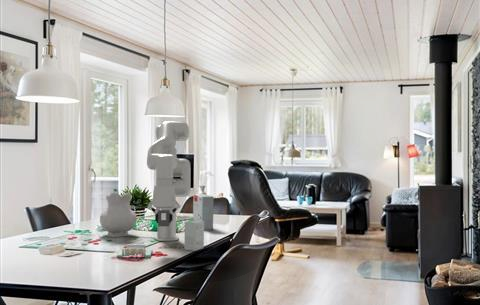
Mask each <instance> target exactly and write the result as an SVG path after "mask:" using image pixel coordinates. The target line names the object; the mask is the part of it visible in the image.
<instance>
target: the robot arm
mask: <svg viewBox="0 0 480 305" xmlns="http://www.w3.org/2000/svg"><path fill="white" fill-rule="evenodd" d="M189 137H190V126H189V124H188V123H187V122H185V121H176V120H175V121H174V120H172V121H171V120H167V121H163V122H162V123H161V124H159V125H158V126H156V127H155V138H156V141H154V142H153V143H152V144H151V145H150V146H149V148H148V150H147V157H146V165H147V168H148V169H149V170H152V171H155V185H154V187H153V192H152V200H151V201H150V202H149V203H148V205H147V208H148V209H149V210H151V211H152V212H153V213H154V215H155V216H154V220H155V222H156V224H158V210H159V209H161V210H170V214H169V223H170V224H169V226H158V225H157V226H156V227H157V234H156V236H153V239H154V240H155V241H159V242H175V241H177V240H179V239H180V237H179V236H177V234H176V233H177V210H179V209H180V208H181V205H180V203H179V202H178V201H177V200H176V198H186V197H189V196H190V193H191V180H192V179H191V173H192V172H191V169H192V168H191V162H190V160H188V159H186V158H178V157H177V156H178V155H177V154H178V151H177V148H176V146H177V142H178V141H179V142H185V141H188V139H189ZM174 177H175V178H174ZM177 177H179V178H177Z"/></svg>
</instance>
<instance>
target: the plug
mask: <svg viewBox="0 0 480 305" xmlns="http://www.w3.org/2000/svg"><path fill="white" fill-rule="evenodd" d="M169 214H170V210H161V209H159V210H158V223H157V227H158V226H169V224H170V223H169Z"/></svg>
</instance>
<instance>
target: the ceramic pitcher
mask: <svg viewBox="0 0 480 305" xmlns="http://www.w3.org/2000/svg"><path fill="white" fill-rule="evenodd" d="M105 198H106V199H105V200H106V201H107V208H106V209H105V210H104V211H102V213H101V214H100V217H99V223H100V226H101V228H102V229H103V230H104V231H106V232H107V234H106V236H107V237H109V238H121V237H126V236H127V237H128V236H130V234H129V232H130V231H131V230H133V229H134V227H135V226H136V223H137V220H138V216H137V213H136V212H134V211H133V210H132V209H131V206H130V204H131V200H132V198H133V195H132V194H131V193H130V192H126V193H125V194H124V195H120V193H119V190H118V189H117V188H113V192H110V194H109V195H108V194H107V195H105Z"/></svg>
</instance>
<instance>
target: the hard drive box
mask: <svg viewBox="0 0 480 305" xmlns="http://www.w3.org/2000/svg"><path fill="white" fill-rule="evenodd" d="M192 196H193V201H192V202H193V203H192V204H193V205H192V206H193V207H192V213H193V214H192V215H193V216H192V220H193V219H194V220H199V221H204V231H212V230H213V229H214V195H209V194H205V193H200V194H199V193H195V194H193V195H192Z"/></svg>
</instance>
